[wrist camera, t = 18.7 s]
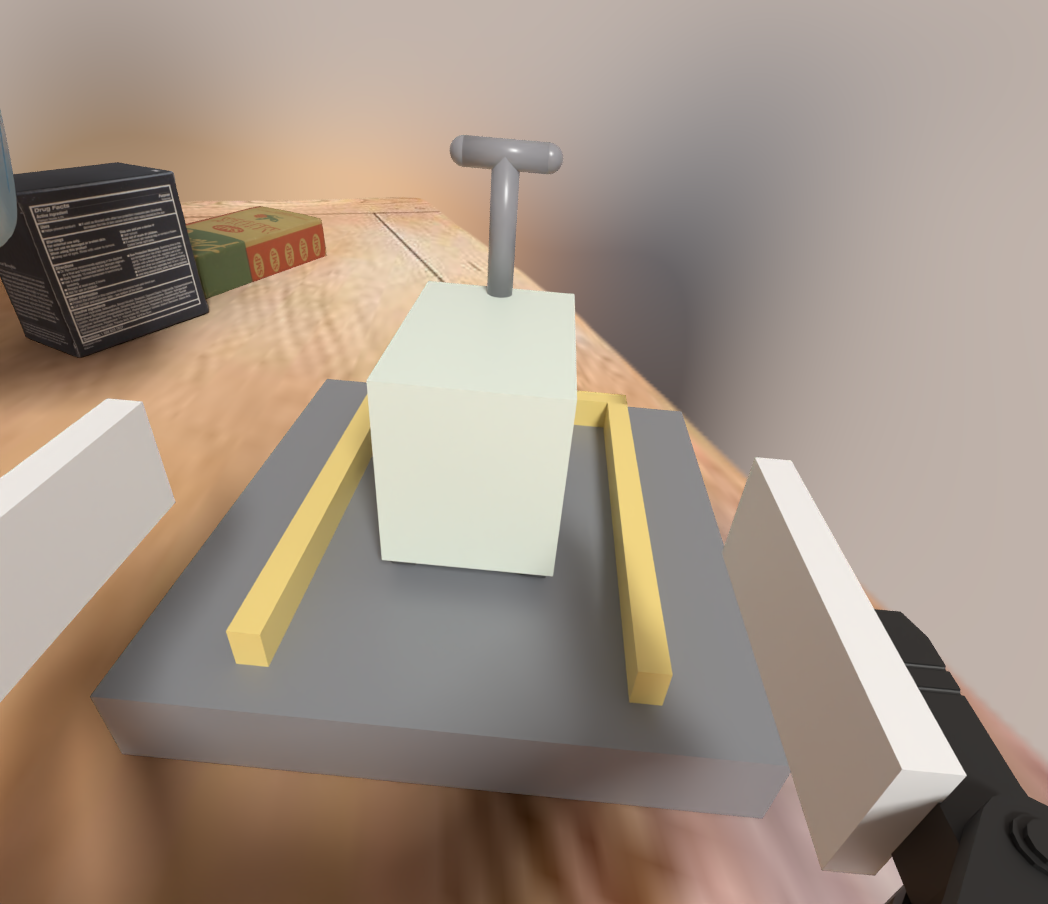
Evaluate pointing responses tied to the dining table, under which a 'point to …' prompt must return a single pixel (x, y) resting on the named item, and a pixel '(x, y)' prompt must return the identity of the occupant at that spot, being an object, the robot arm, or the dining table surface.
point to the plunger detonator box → (478, 402)
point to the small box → (99, 257)
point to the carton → (252, 246)
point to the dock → (463, 635)
